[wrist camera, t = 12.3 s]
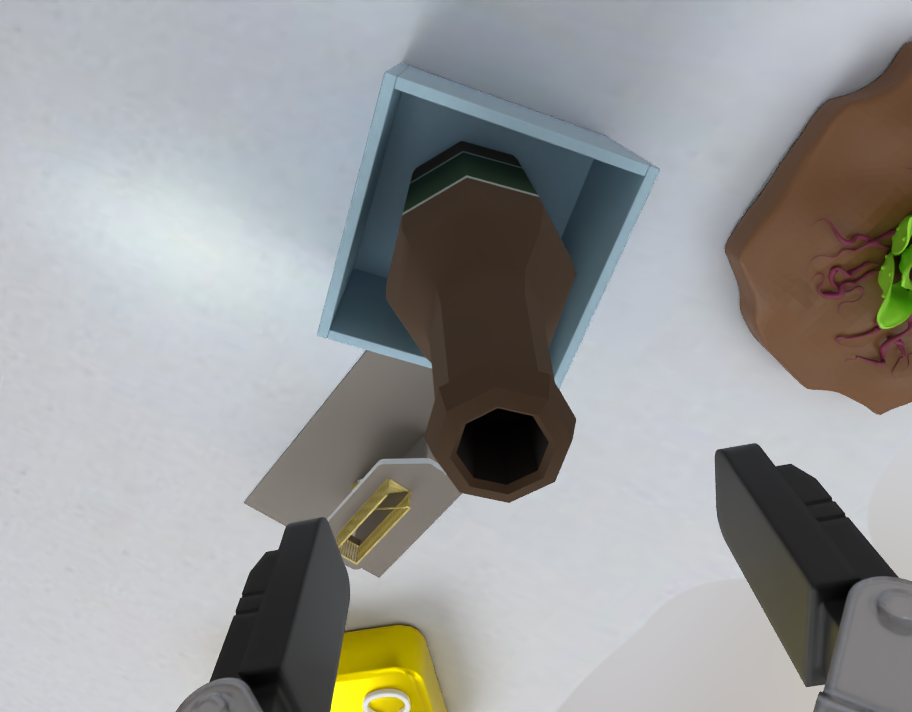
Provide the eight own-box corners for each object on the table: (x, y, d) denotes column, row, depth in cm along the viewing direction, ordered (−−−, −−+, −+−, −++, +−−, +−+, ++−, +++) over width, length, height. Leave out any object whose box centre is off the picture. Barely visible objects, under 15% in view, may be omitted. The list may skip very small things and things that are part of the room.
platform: (243, 502, 47) (214, 570, 41) (389, 322, 40) (379, 371, 34) (379, 577, 50) (370, 649, 44) (532, 421, 44) (545, 481, 38)
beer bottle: (374, 221, 37) (274, 478, 15) (457, 106, 34) (476, 223, 13) (480, 297, 39) (522, 616, 18) (566, 195, 36) (739, 424, 15)
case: (345, 270, 39) (316, 336, 30) (400, 62, 34) (385, 71, 25) (530, 326, 41) (553, 403, 32) (609, 137, 36) (660, 168, 27)
